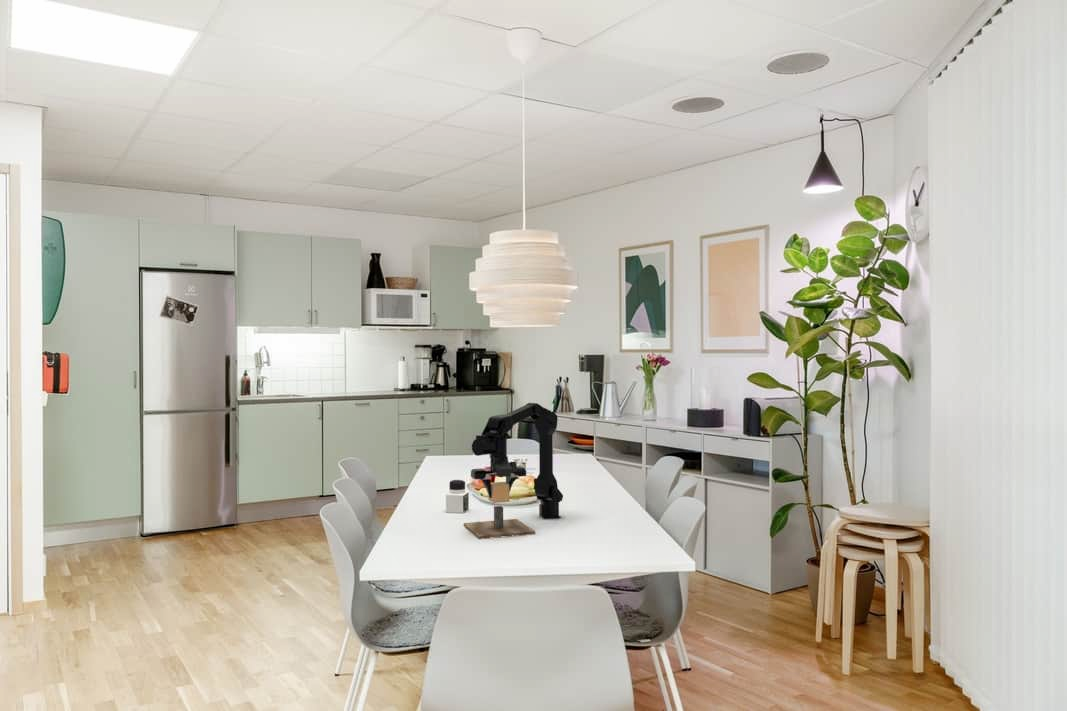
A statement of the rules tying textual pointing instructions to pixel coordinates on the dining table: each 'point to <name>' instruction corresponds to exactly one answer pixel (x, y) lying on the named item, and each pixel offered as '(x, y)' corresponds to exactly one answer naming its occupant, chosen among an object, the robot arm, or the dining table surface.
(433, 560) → the dining table surface
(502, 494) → the peach wooden cube
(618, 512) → the dining table surface
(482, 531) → the wooden base with peg
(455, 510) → the medicine bottle
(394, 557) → the dining table surface
